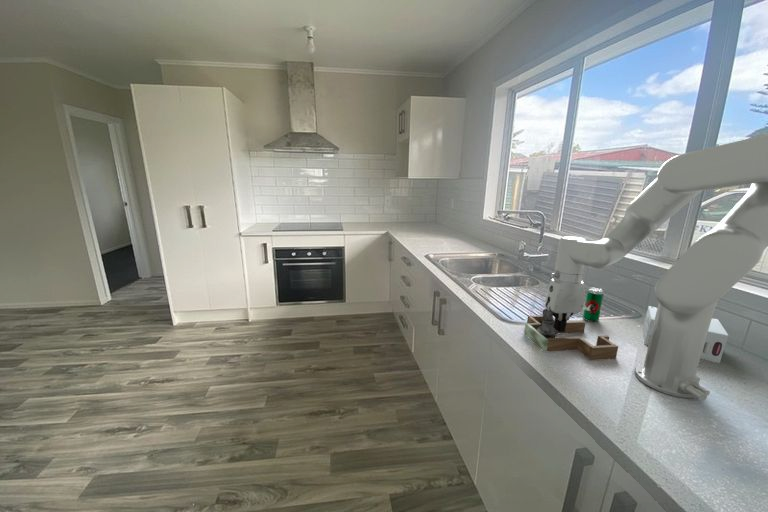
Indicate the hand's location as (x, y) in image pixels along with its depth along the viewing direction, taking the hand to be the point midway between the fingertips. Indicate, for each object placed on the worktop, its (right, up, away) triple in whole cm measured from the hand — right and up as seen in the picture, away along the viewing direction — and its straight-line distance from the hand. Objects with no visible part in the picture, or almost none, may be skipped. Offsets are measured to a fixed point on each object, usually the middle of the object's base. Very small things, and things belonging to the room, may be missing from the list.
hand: (559, 329), depth 98 cm
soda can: (+21, 0, +16) cm, 26 cm away
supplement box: (+37, -5, -2) cm, 37 cm away
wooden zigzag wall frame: (+2, -4, +1) cm, 5 cm away
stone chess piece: (-4, -4, +1) cm, 5 cm away
